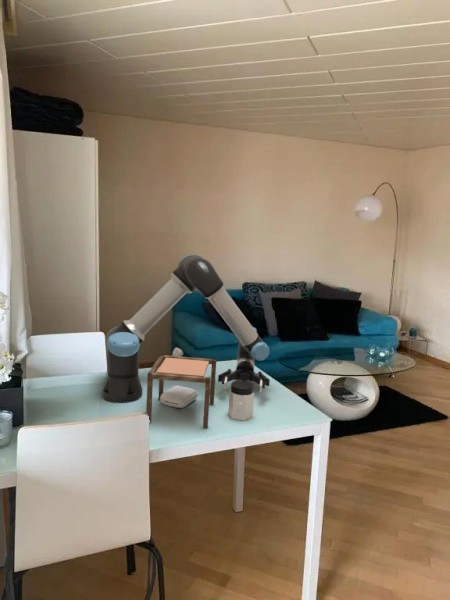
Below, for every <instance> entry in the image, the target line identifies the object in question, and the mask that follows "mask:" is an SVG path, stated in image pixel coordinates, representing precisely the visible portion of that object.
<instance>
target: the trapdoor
mask: <svg viewBox="0 0 450 600" xmlns="http://www.w3.org/2000/svg"><path fill="white" fill-rule="evenodd" d="M209 366H210V364H209V361H201V360H189V359H177V358H165V360H164V361H163V363H162V364H161V366H160V367H159V368H158V370H157V371H156V373H162V374H174V375H186V376H197V377H206V376H205V375H206V374H207V371H208V367H209Z"/></svg>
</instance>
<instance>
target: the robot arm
mask: <svg viewBox="0 0 450 600" xmlns="http://www.w3.org/2000/svg"><path fill="white" fill-rule="evenodd" d="M224 286H225V283H224V282H223V280H222V278H220V276H219V274H218V272H217V271H216V269H215V268H214V266H213V264H212V263H211V262H210V261H208V259H206V258H204V257H202V256H200V255H198V254H189V255H186V256H184V257H183V258H182V259H181V260H180V261H179V263H178V266H177V267H176V268H174V270H173V271H172V272H171V277H170V280H168V281H167V282H166V283H165V284H164V285H163V286H162V287H161V288H160V289H159V290H158V291H157V292H156V293H155V294H154V295H153V296H152V297H150V299H149V300H148V301H147V302H146V303H145V304H144V305H143V306H142V307H141V308H140V309H139V310H138V311H137V312H136V313H135V314H134V315H133V316H132V317H131V318H130V319H128V320H127V319H126V320H125V319H124V320H123V321H122V322H121V323H120V324H119V325H117V326H115V327H113V328H111V329H110V330H109V331H108V333H107V334H106V337H105V349H106V353H107V354H106V355H107V356H106V357H107V360H106V361H107V368H106V370H107V371H106V373H107V375H106V378H105V381H104V384H103V386H102V390H101V392H102V394H101V396H102V398H103V399H104V400H106V401H109V402H113V403H130V402H134V401H136V400H139V399H141V398H142V397H143V385H142V383H141V379H140V377H139V365H140V364H139V363H140V362H139V357H140V347H141V344H142V343H143V342H144V341H145V335H146V334H147V333H148V332H149V331H150V330H151V329H152V328H153V327H154V326H155V325H157V323H158V322H159V321H161V319H162V318H163V317H164V316H165V315H166V314H167V313H168V312H170V310H171V309H172V308H173V307H174V306H175V305H176V304H177V303H178V302H179V301H180V300H181V299H182V298H183V297H184V296H185V295H186V294H192V293H194V291H195V290H197V291H198V293H200V295H201V296H202V297H203V298H204V299H208V301H209V302H210V303H211V305H212V306H213V308H214V309H215V310H216V311H217V312H218V314H219V316H221V318H222V319H223V320H224V322H225V323H226V325H227V326H228V327H229V328H230V330H231V332H232V333H234V335H235V337H236V338H237V339H238V347H237V348H238V349H237V362H236V367H235V370H232V368H228V369H227V370H226V371H224V372H222V373H220V374H218V377H217V381H218V382H219V383H220V382H221V385H223V390H224V391H225V390H226V389H227V385H228V383H229V382H233V381H238V380H243V381H248V382H251V383H256V384H257V385H259V393H262V391H263V389H265V388H266V386H267V387H269V386H270V383H271V382H270V379H269V378H268V377H267V376H266V375H264V374H263V373H262V371H258V372H257V373H256V372H255V363H256V361H260V362H261V361H264V360H265V359H267V358H268V356H269V354H270V348H269V346H268V345H267V343H266V342H264V341H263V339H262V338H261V337H260V335H259V334H258V330H257V328H256V327H254V326H253V325H252V324H251V323H250V321H249V320H248V319H247V318H246V316H245V315H244V313H243V312H242V311H241V309H240V308H239V307H238V305H237V304H236V303H235V301H234V300H233V298H232V297H231V295H230V294H229V293H228V291H227V290H226V289H225V287H224ZM255 360H256V361H255Z"/></svg>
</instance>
